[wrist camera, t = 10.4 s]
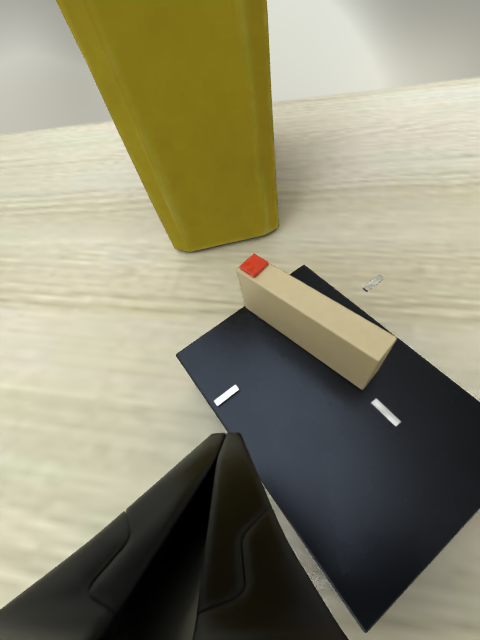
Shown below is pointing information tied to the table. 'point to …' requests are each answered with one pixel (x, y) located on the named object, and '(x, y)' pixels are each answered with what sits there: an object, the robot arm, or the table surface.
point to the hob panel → (348, 449)
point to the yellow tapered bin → (189, 108)
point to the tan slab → (314, 321)
